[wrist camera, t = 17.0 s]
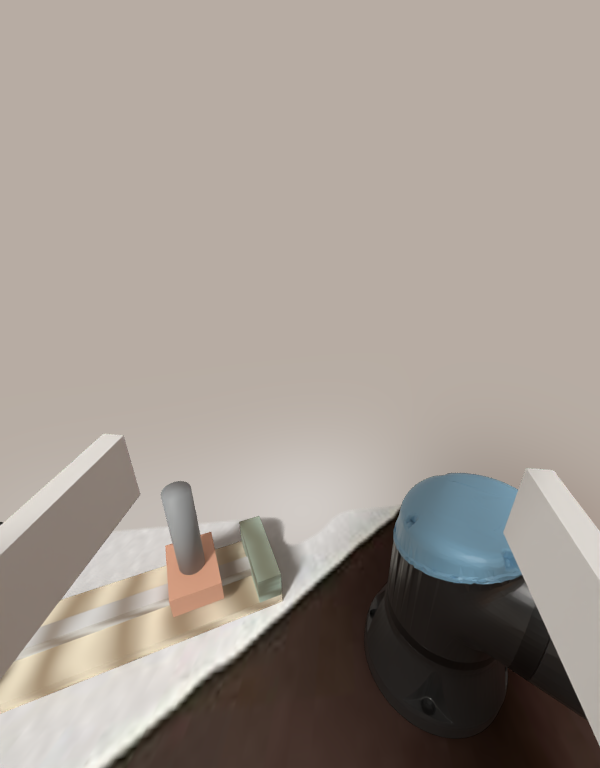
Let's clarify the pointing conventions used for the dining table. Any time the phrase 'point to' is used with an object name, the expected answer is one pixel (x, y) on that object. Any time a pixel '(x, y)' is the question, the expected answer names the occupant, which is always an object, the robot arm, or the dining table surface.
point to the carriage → (188, 554)
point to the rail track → (137, 620)
